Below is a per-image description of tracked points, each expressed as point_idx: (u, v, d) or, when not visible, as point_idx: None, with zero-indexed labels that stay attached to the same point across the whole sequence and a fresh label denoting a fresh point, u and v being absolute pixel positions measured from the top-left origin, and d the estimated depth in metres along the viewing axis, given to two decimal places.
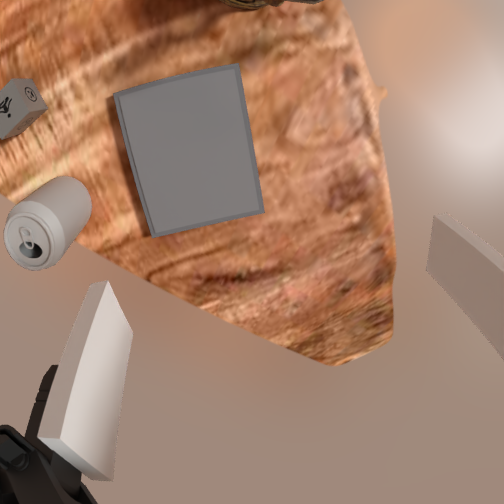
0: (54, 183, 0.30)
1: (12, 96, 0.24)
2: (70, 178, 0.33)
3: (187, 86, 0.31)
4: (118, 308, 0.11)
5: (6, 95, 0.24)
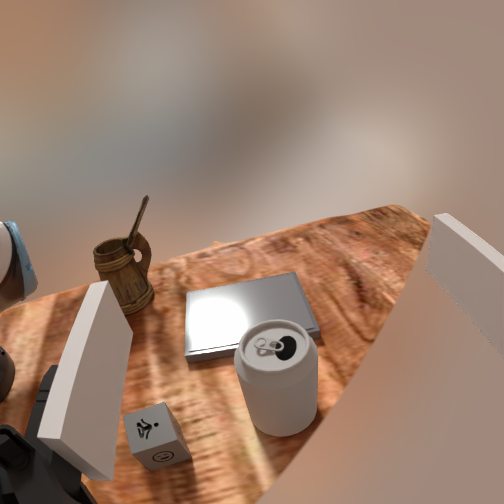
0: None
1: (139, 417, 0.29)
2: None
3: (195, 314, 0.47)
4: (118, 308, 0.11)
5: (134, 424, 0.28)
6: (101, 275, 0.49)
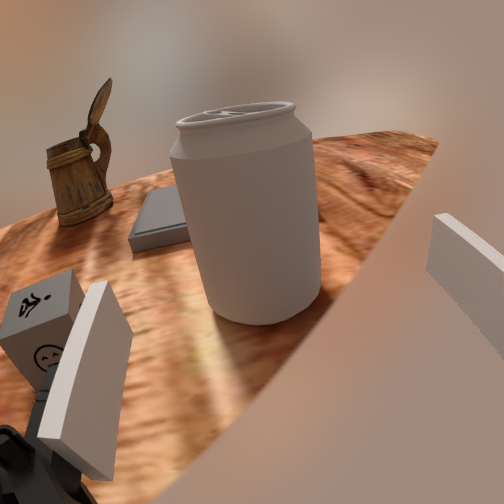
0: None
1: (30, 292, 0.16)
2: None
3: (153, 204, 0.36)
4: (118, 308, 0.11)
5: (20, 301, 0.16)
6: (52, 173, 0.37)
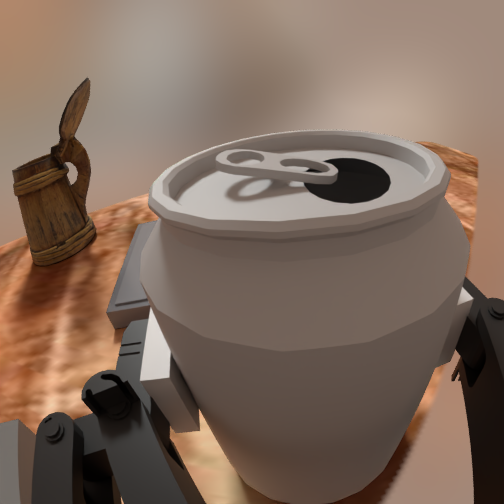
0: None
1: None
2: None
3: (142, 249, 0.27)
4: None
5: None
6: (20, 201, 0.28)
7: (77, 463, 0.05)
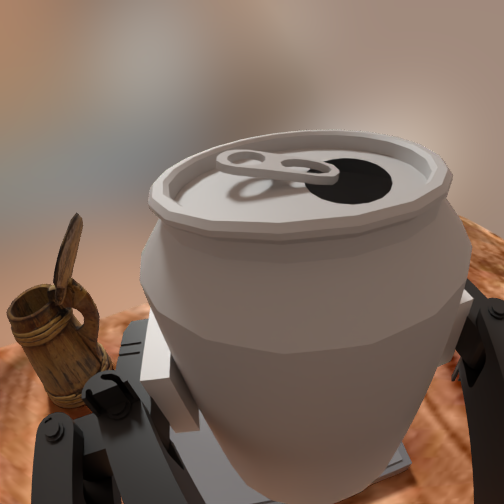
0: None
1: None
2: None
3: None
4: None
5: None
6: (23, 348, 0.24)
7: (77, 463, 0.05)
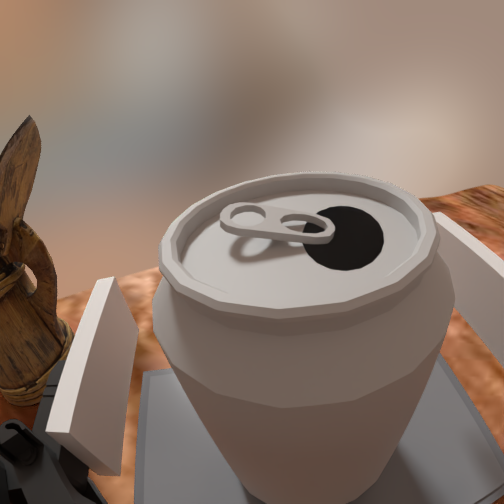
0: None
1: None
2: None
3: (161, 450, 0.14)
4: (124, 304, 0.12)
5: None
6: None
7: (2, 492, 0.04)
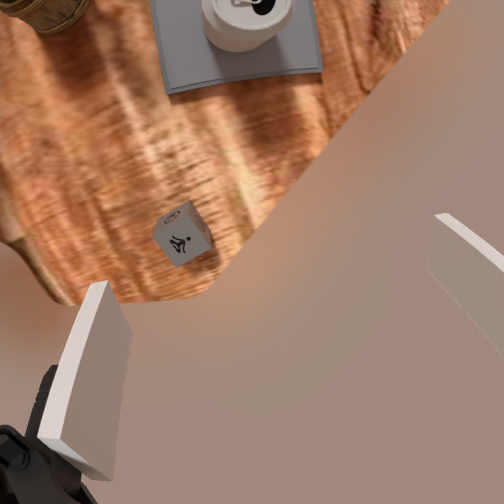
0: None
1: (170, 235, 0.36)
2: None
3: (167, 25, 0.27)
4: (118, 308, 0.11)
5: (168, 242, 0.37)
6: (18, 17, 0.18)
7: None
